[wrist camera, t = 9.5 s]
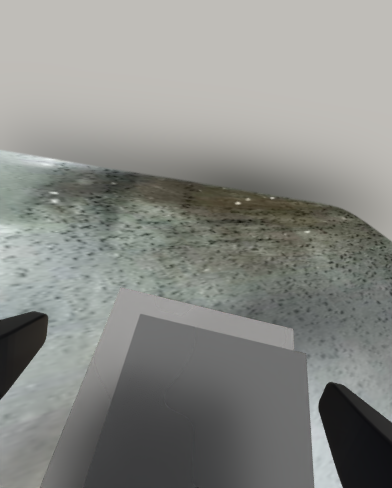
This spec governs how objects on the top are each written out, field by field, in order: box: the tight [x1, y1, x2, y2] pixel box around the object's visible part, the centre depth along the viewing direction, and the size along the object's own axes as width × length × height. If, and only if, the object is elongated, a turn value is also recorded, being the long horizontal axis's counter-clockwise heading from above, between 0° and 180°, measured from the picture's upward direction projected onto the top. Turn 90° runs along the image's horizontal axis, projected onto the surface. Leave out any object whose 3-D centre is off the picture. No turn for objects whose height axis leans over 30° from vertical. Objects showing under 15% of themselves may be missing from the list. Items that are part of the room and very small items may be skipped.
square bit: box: [40, 288, 314, 488], centre depth 8 cm, size 4×4×14 cm
